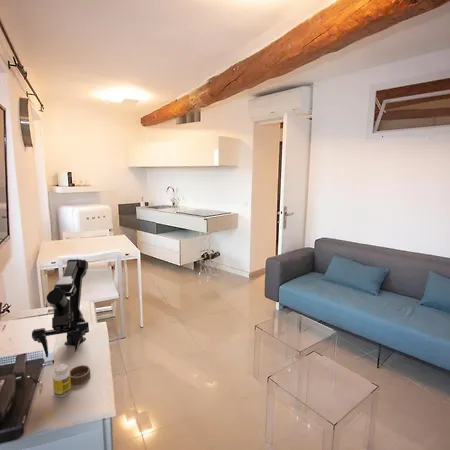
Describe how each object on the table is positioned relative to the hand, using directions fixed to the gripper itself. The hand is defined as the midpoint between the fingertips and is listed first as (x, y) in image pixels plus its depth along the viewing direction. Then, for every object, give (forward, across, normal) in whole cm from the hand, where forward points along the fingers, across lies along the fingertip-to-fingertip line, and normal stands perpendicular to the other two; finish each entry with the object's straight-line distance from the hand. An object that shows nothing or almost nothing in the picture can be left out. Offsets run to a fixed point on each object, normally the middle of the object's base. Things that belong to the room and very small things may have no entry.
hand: (61, 354), depth 114 cm
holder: (+8, +5, +9) cm, 13 cm away
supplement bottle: (+12, 0, +5) cm, 13 cm away
